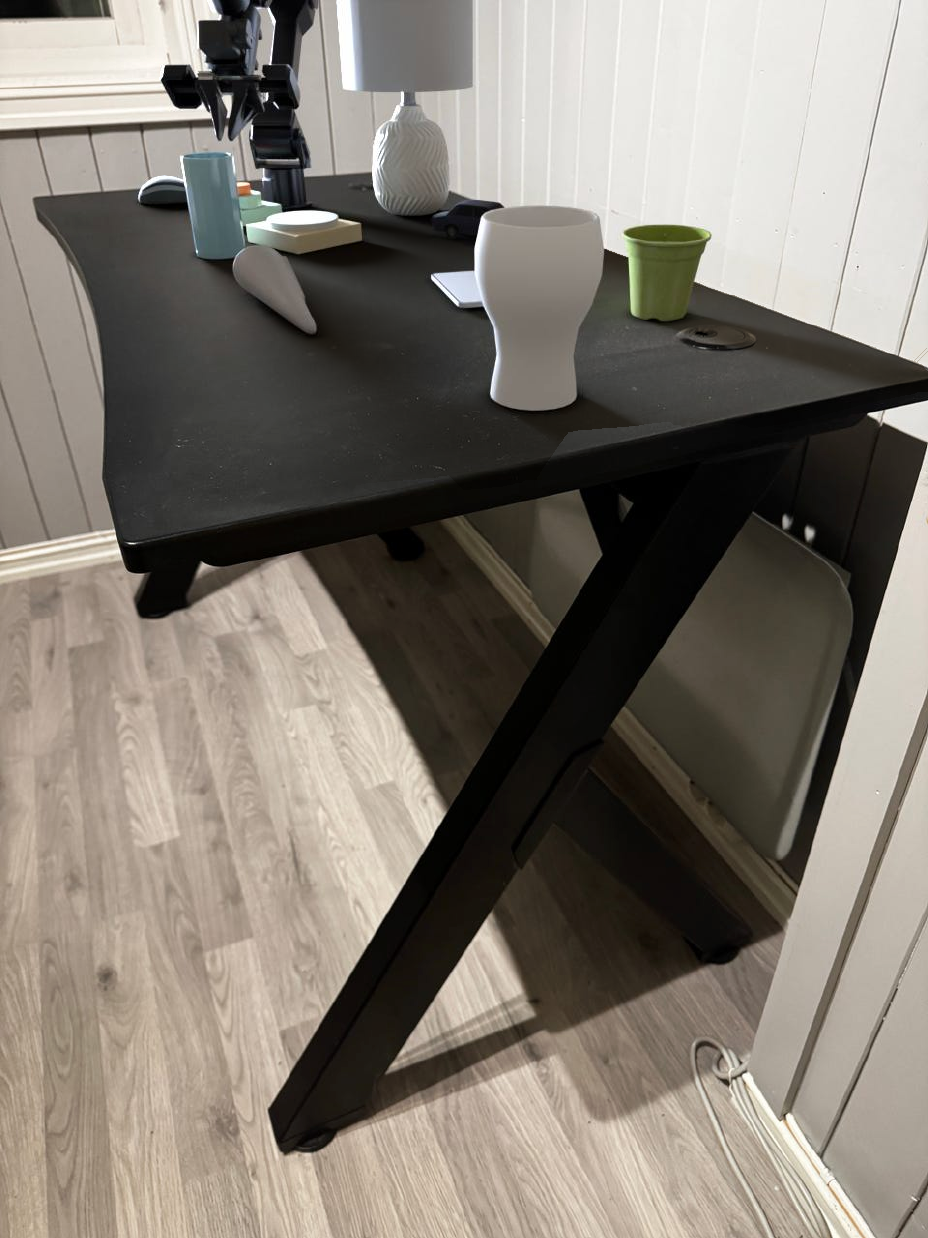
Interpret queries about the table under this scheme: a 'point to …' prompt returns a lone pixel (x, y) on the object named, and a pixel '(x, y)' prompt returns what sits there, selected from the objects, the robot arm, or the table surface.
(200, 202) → the tumbler
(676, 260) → the plant pot
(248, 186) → the button
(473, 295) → the smartphone
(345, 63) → the lamp
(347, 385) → the table surface
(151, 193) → the computer mouse
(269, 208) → the button box
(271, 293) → the long tapered cone
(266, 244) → the scale
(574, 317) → the cup
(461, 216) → the toy car
